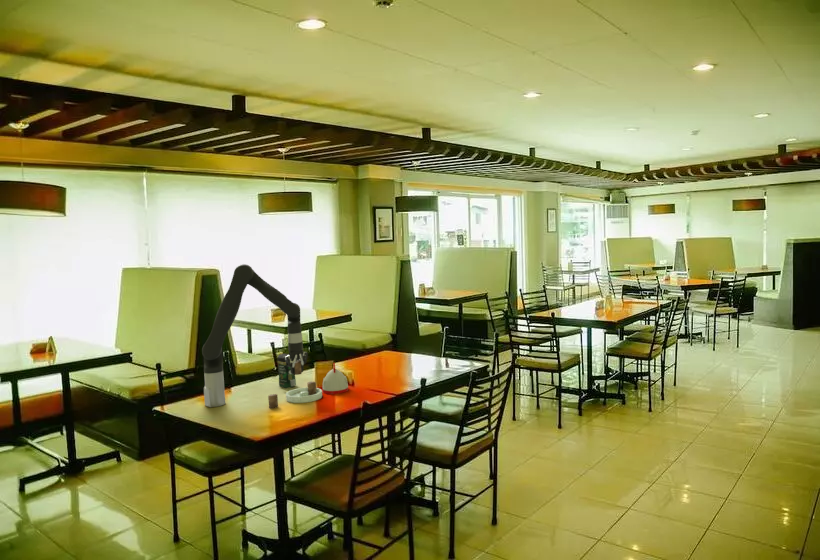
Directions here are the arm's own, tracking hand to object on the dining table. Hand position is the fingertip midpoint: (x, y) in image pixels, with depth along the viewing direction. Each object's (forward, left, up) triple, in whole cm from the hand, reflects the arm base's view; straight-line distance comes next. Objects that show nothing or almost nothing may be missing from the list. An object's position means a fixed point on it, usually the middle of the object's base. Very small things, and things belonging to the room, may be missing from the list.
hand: (297, 373), depth 299 cm
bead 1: (0, 0, 0) cm, 0 cm away
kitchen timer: (+19, -7, -13) cm, 24 cm away
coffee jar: (+8, +23, -13) cm, 27 cm away
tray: (0, -5, -12) cm, 13 cm away
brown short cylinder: (-19, -6, -12) cm, 24 cm away
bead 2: (+5, -5, -11) cm, 14 cm away
